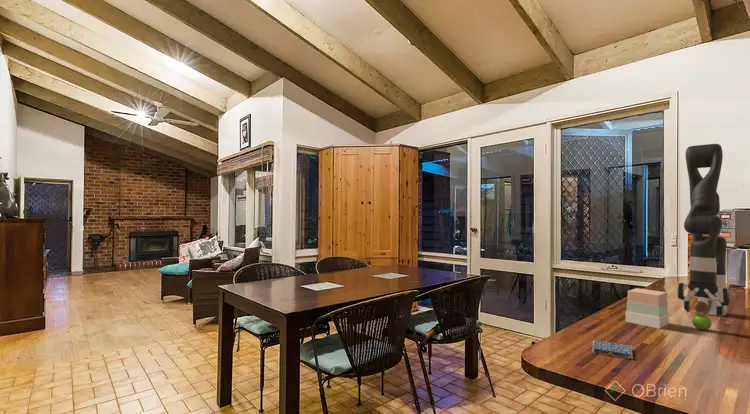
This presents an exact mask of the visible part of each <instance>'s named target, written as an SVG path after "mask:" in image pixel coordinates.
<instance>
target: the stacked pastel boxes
mask: <svg viewBox="0 0 750 414" xmlns="http://www.w3.org/2000/svg"><path fill="white" fill-rule="evenodd" d="M667 294H668V292H665V291H661V290H660V291H658V290H653V289H645V288H638V287H636V288H633V289H630V290H629V289H628V290H627V300H626V311H625V322H626V323H631V324H636V325H640V326H645V327H650V328H654V329H661V328H663V327H665V326H667V325H669V324H670V320H669V319H670V317H669V316H670V315H669V314H670V313H669V312H668V310H669V309H668V301H667V300H668V299H667V298H668V297H667V296H668V295H667Z"/></svg>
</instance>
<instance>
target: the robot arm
mask: <svg viewBox="0 0 750 414" xmlns="http://www.w3.org/2000/svg"><path fill="white" fill-rule="evenodd" d="M723 155H724V153H723V149H722V145H721V144H719V143H710V144H709V143H708V144H699V145H690V146H688V147H687V148H686V149H685V161H686V168H687V176H688V182H689V200H690V201H689V203H690V209H689V212H688V214H687V216H686V218H685V219H684V221H683V227H684V228H683V229H684V231H685V232H687V233H688V234H690V235H692V241H691V242H690V246H689V248H690V250H689V251H690V252H689V253H690V254H689V255H690V258H689V266H688V269H689V281H688V282H689V283H684V282H680V283H678V286H677V287H678V288H677V299H679V300H681V301H683V308H684V310H685V311H686V313H690V312H691V301H690V300H691V299H692V298H693V297H694V296H696V297H697V302H698V301H703V302H705V303H706V304H707V305H708V300H710V298H711V301H712V305H711V310H710V312H709V313H708V314H707V315H710V316H716V317H718V318H720V317H723V316H727V306H729V305H731V302H730V289H729V288H728V287H727V268H726V267H727V265H726V264H727V251H728V250H727V248H728V247H727V246H728V244H727V239H726V238H725V237H723V236H719V235H720V233H721V231H722V228H723V220H722V219H721V217H719V216H718V214H719V213H720V211H721V206H720V205H721V204H720V195H719V193H718V191H717V190H718V185H719V181H720V175H721V170H722V164H723V159H724V158H723V157H724V156H723ZM703 168H706V169H707V168H709V170H708V172H707V174H706V175H705V176H704V177H703V176H702V175H701V173H700V171H699V169H703ZM704 235H705V236H704ZM687 288H688V289H689V290H690V292H689V293H688V294H687V295H686V296H684V295H685V290H686V289H687Z"/></svg>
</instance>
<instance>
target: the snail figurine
mask: <svg viewBox="0 0 750 414" xmlns="http://www.w3.org/2000/svg"><path fill="white" fill-rule="evenodd" d="M711 305H712V301H711V298H710V300H708V305H707V304H706V303H705V302H703V301H698V300H697V301H696V302H695V303H694V305H693V309H694V310H695V311H694V314H696V315H693V317H692V319H691V323H692V325H693V327H694V328H696V329H697V330H701V331H706V330H707V331H708V330H709V329H711V327H712V325H713V324H712V321H711V319H710V317H708V316H707V315H709V314H708V313H709V312H710V310H711Z"/></svg>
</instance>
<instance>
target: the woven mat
mask: <svg viewBox="0 0 750 414" xmlns="http://www.w3.org/2000/svg"><path fill="white" fill-rule="evenodd" d="M591 346H592V348H591V352H592V353H594V354H599V355H604V356H610V357H617V358H622V359H628V360H633V359H634V357H633V356H634V355H633V350H632V347H631V345H629V344H626V343H624V344H623V343H619V342H618V343H617V342H614V341H612V342H611V341H607V340H606V341H605V340H602V339H600V340H599V339H596V338H595V339H594V340H593V339H592V345H591Z"/></svg>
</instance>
